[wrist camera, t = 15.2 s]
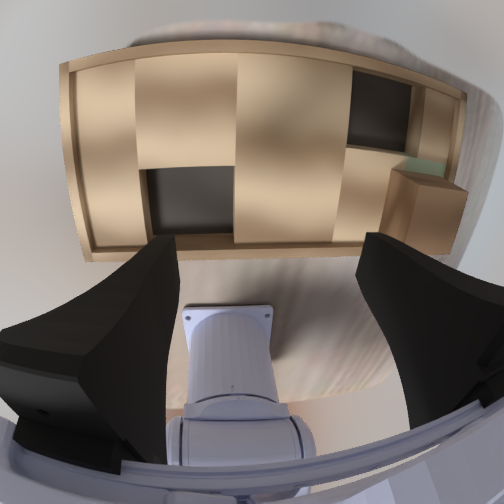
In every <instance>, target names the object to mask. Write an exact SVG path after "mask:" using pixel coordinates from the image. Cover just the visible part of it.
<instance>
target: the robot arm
mask: <svg viewBox="0 0 504 504" xmlns="http://www.w3.org/2000/svg"><path fill="white" fill-rule="evenodd" d="M355 276H356V278H357V281H358V284H359V287H360V289H361V292H362V294H363V296H364V298H365V300H366V302H367V304H368V306H369V308H370V309H371V311H372V313H373V315H374V317H375V319H376V320H377V322H378V324H379V326H380V328H381V330H382V332H383V333H384V335H385V337H386V339H387V342H388V344H389V346H390V349H391V351H392V354H393V357H394V360H395V363H396V365H397V369H398V372H399V375H400V379H401V382H402V386H403V391H404V395H405V400H406V404H407V410H408V417H409V424H410V431H407V432H404V433H401V434H398V435H395V436H392V437H389V438H387V439H383V440H380V441H377V442H374V443H370V444H367V445H363V446H359V447H355V448H352V449H348V450H344V451H339V452H335V453H330V454H326V455H321V456H316V448H315V442H314V438H313V435H312V432H311V430H310V428H309V427H308V425H307V424H306V423H305V422H304V421H303V420H302V419H301V418H300V417H299V416H297V415H291V416H289V411H288V406H287V404H286V403H279V398H278V393H277V388H276V382H275V377H274V372H273V367H272V362H271V356H270V351H269V345H270V337H271V328H272V319H273V307H272V306H271V305H254V306H226V307H186V308H184V309H183V310H182V317H183V323H184V329H185V335H186V340H187V346H188V351H189V370H188V390H187V403H186V404H184V420H183V418H182V416H174V417H173V419H172V420H170V421H169V422H168V423H167V425H166V416H165V415H166V378H167V363H168V355H169V349H170V344H171V339H172V334H173V329H174V324H175V319H176V314H177V309H178V303H179V291H180V276H179V268H178V260H177V251H176V242H175V234H167V235H157V236H156V237H155V238H153V239H152V240H151V241H150V242H149V243H148V244H146V245H145V246H144V247H143V248H142V249H141V250H140V251H139V252H137V253H136V254H135V255H134V256H133V257H132V258H131V259H129V260H128V261H127V262H126V263H125V264H123V265H122V266H121V267H120V268H118V269H117V270H116V271H115V272H113V273H112V274H111V275H110V276H108V277H107V278H106V279H104V280H103V281H101V282H100V283H99V284H97V285H95V286H94V287H92V288H91V289H90V290H88V291H86V292H85V293H83V294H81V295H79V296H77V297H76V298H74V299H72V300H70V301H69V302H67V303H65V304H63V305H61V306H59V307H57V308H55V309H53V310H51V311H49V312H47V313H45V314H42V315H40V316H38V317H35V318H33V319H30V320H28V321H25V322H22V323H19V324H17V325H14V326H11V327H8V328H5V329H2V330H1V332H0V397H1V398H2V399H3V400H4V401H5V402H6V403H7V405H8V406H9V407H10V408H11V409H12V410H13V411H14V412H15V413H16V414H17V415H19V418H18V422H17V425H16V424H14V423H13V422H11V421H10V420H7V419H6V418H3V417H1V416H0V503H1V504H504V287H502V286H499V285H495V284H492V283H489V282H486V281H483V280H480V279H477V278H475V277H472V276H469V275H467V274H465V273H462V272H460V271H458V270H455V269H453V268H451V267H449V266H447V265H445V264H443V263H441V262H439V261H437V260H435V259H433V258H431V257H429V256H427V255H425V254H424V253H422V252H420V251H418V250H416V249H414V248H412V247H411V246H409V245H407V244H405V243H403V242H401V241H399V240H397V239H395V238H393V237H391V236H388V235H386V234H383V233H380V232H366V235H365V239H364V244H363V248H362V252H361V256H360V260H359V264H358V267H357V271H356V275H355ZM266 314H268V315H266ZM186 316H190V317H186ZM440 443H441V444H440ZM437 444H440V445H439V446H438V447H436V448H434V449H432V450H431V451H429V452H427V453H424V454H422V455H421V456H419V457H417V458H415V459H413V460H410V461H408V462H406V463H403V464H401V465H399V466H396V467H394V468H391V469H389V470H386V471H384V472H381V473H378V474H375V475H372V476H370V477H367V478H364V479H361V480H358V481H355V482H352V483H348V484H345V485H342V486H338V487H335V488H331V489H328V490H324V491H320V492H316V493H312V494H310V491H311V486H314V485H319V484H323V483H327V482H332V481H337V480H340V479H344V478H348V477H352V476H355V475H359V474H362V473H366V472H369V471H372V470H375V469H378V468H381V467H384V466H387V465H390V464H392V463H395V462H398V461H400V460H403V459H405V458H408V457H410V456H413V455H415V454H418V453H420V452H422V451H425V450H427V449H429V448H431V447H433V446H435V445H437Z"/></svg>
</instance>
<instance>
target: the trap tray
mask: <svg viewBox="0 0 504 504" xmlns="http://www.w3.org/2000/svg"><path fill="white" fill-rule="evenodd" d="M59 102H60V122H61V135H62V144H63V154H64V162H65V169H66V176H67V182H68V188H69V194H70V199H71V205H72V210H73V214H74V218H75V223H76V228H77V232H78V236H79V240H80V244H81V248H82V252H83V256H84V259H85V262H125V261H128V260H129V259H131V258H132V257H133V256H134V255H135V254H136V253H137V252H139V251H140V250H141V249H142V248H143V247H144V246H145V245H146V244H148V243H149V242H150V241H151V240H152V239H153V238H155V237H156V236H157V235H167V234H175V242H176V251H177V260H178V261H179V260H225V259H266V258H303V257H338V256H361V252H362V248H363V244H364V239H365V235H366V232H378V230H379V226H380V222H381V217H382V213H383V208H384V203H385V198H386V194H387V188H388V183H389V178H390V172H391V169H396V170H404V171H411V172H417V173H423V174H430V175H435V176H440V177H442V178H444V179H446V180H448V181H449V182H451V183H453V184H454V180H455V175H456V171H457V166H458V161H459V155H460V149H461V143H462V137H463V130H464V122H465V113H466V102H467V93H465V92H463V91H461V90H459V89H457V88H454V87H452V86H450V85H448V84H445V83H443V82H440V81H438V80H436V79H433V78H430V77H428V76H425V75H423V74H420V73H417V72H414V71H411V70H408V69H405V68H402V67H399V66H396V65H393V64H389V63H386V62H383V61H379V60H375V59H372V58H368V57H364V56H360V55H355V54H351V53H346V52H342V51H337V50H332V49H326V48H320V47H314V46H307V45H300V44H292V43H283V42H272V41H257V40H191V41H177V42H166V43H157V44H149V45H142V46H135V47H129V48H123V49H118V50H113V51H108V52H104V53H99V54H95V55H91V56H87V57H83V58H79V59H76V60H72V61H68V62H65V63H62V64H60V65H59Z"/></svg>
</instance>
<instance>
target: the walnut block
mask: <svg viewBox="0 0 504 504" xmlns="http://www.w3.org/2000/svg"><path fill="white" fill-rule="evenodd" d="M467 196H468V192H467V191H465V190H464V189H462V188H460V187H458V186H457V185H455V184H453V183H451V182H449V181H448V180H446V179H444V178H442V177H440V176H435V175H430V174H423V173H417V172H411V171H404V170H396V169H391V172H390V178H389V183H388V188H387V194H386V198H385V203H384V208H383V213H382V217H381V222H380V226H379V230H378V232H380V233H383V234H386V235H388V236H391V237H393V238H395V239H397V240H399V241H401V242H403V243H405V244H407V245H409V246H411V247H412V248H414V249H416V250H418V251H420V252H422V253H424V254H425V255H444V254H450V252H451V249H452V246H453V243H454V240H455V237H456V234H457V231H458V228H459V225H460V221H461V218H462V214H463V211H464V207H465V204H466V200H467Z"/></svg>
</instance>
